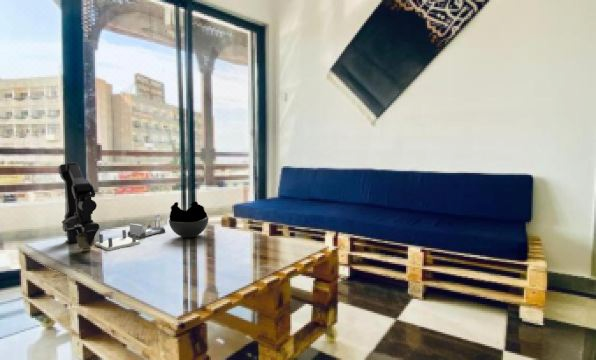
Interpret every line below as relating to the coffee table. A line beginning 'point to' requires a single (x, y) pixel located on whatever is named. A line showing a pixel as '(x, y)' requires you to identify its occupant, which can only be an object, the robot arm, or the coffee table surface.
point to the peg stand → (117, 241)
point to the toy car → (144, 232)
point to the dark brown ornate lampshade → (84, 242)
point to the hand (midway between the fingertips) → (85, 242)
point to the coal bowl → (188, 220)
